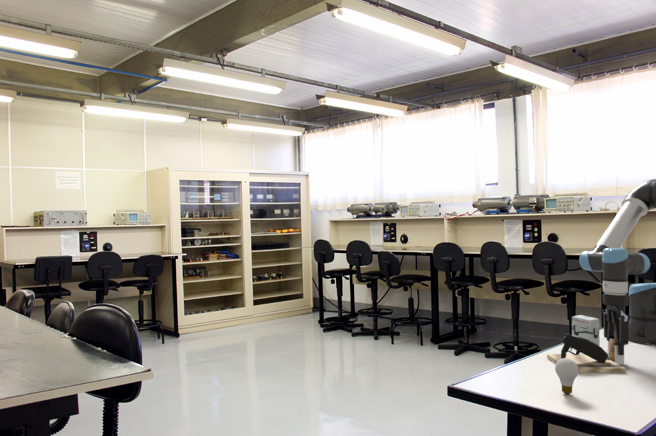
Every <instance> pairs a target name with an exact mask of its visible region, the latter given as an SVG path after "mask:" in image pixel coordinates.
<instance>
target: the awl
mask: <svg viewBox="0 0 656 436" xmlns="http://www.w3.org/2000/svg"><path fill="white" fill-rule="evenodd" d="M614 343H616V337H615V330H614V338H610V360H611V361H613V362H615V345H614ZM619 365H621V364H619ZM621 366H622V365H621Z"/></svg>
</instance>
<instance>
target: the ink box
mask: <svg viewBox="0 0 656 436" xmlns="http://www.w3.org/2000/svg"><path fill="white" fill-rule="evenodd" d="M571 335H572V336H575V337H582V338H586V339H588V340H590V341H592V342H594V343H596V344H598V345H599V346H600V319H599V318H598V317H592V316H589V315H588V316H587V315H582V314H579V315H574V316H571ZM600 347H601V346H600Z"/></svg>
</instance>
